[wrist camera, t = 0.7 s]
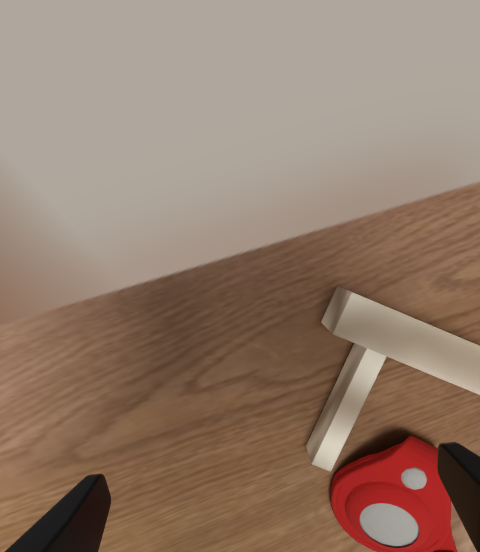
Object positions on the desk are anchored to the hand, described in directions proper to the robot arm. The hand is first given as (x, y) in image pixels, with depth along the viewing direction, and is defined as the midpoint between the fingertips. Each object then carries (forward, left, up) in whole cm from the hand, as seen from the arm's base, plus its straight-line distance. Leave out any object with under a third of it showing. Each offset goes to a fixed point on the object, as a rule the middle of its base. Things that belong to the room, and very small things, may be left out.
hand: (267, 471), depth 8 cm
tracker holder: (-9, -16, -16) cm, 24 cm away
